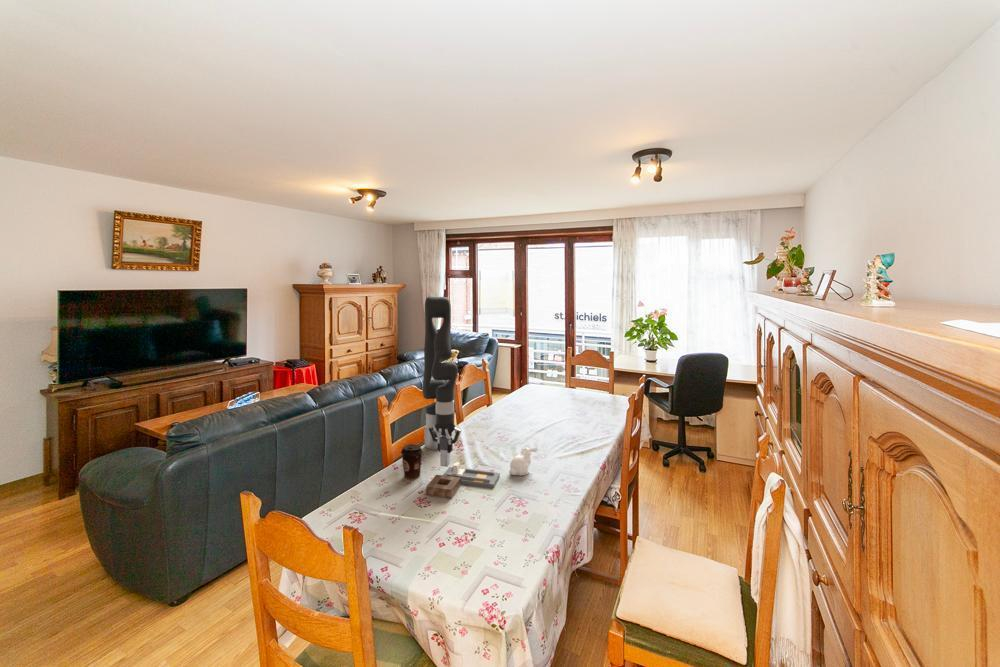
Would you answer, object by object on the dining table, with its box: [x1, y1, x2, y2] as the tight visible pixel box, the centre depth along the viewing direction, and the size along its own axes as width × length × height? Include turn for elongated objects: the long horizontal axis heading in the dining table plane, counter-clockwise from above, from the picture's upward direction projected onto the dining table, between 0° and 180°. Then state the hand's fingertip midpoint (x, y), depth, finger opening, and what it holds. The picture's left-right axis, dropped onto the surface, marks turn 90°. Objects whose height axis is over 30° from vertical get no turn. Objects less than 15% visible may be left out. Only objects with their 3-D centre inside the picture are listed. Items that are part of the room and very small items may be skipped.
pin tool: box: [439, 436, 451, 468], centre depth 176 cm, size 3×3×12 cm
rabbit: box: [508, 446, 538, 477], centre depth 181 cm, size 12×9×12 cm
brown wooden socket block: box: [425, 474, 461, 500], centre depth 165 cm, size 10×10×4 cm
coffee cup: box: [400, 443, 424, 481], centre depth 176 cm, size 9×8×13 cm
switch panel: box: [442, 466, 501, 489], centre depth 175 cm, size 22×10×3 cm, turn 76°
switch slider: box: [452, 462, 466, 475], centre depth 176 cm, size 4×5×4 cm
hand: (445, 451), depth 176 cm, fingers closed on pin tool, 3 cm apart
